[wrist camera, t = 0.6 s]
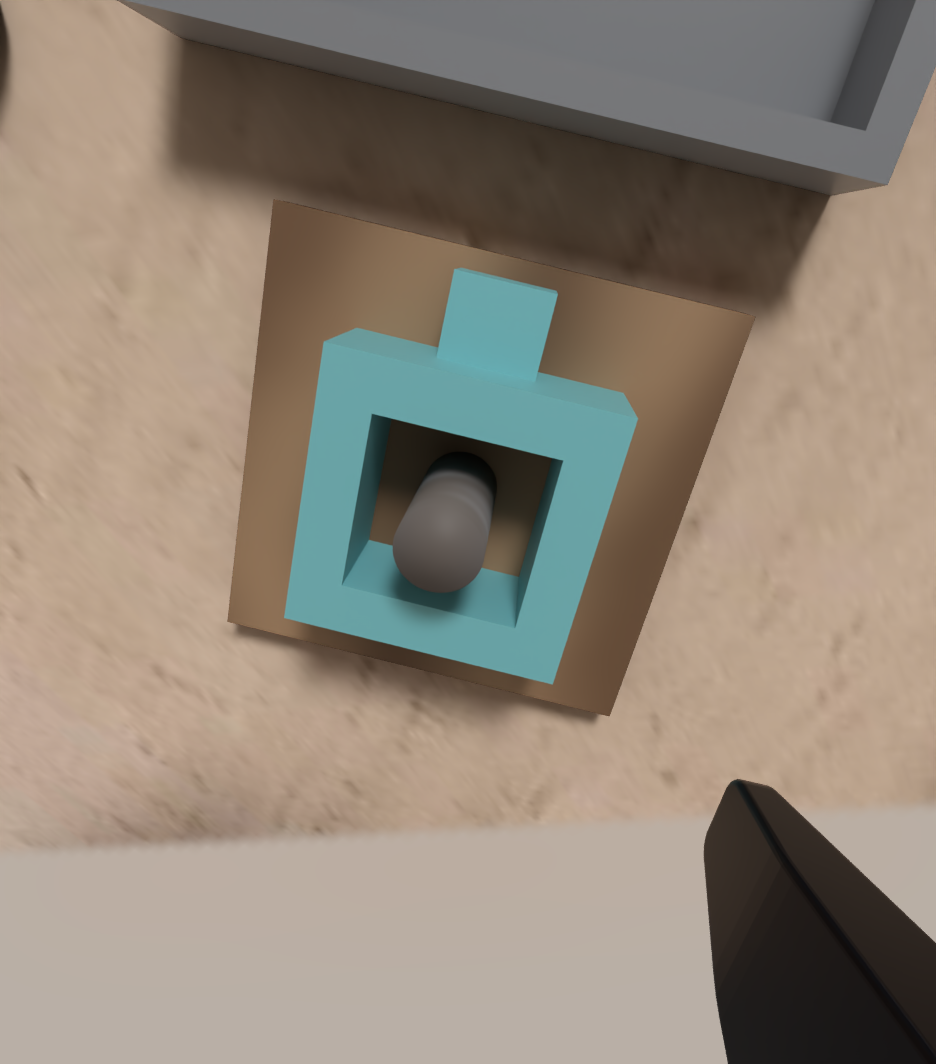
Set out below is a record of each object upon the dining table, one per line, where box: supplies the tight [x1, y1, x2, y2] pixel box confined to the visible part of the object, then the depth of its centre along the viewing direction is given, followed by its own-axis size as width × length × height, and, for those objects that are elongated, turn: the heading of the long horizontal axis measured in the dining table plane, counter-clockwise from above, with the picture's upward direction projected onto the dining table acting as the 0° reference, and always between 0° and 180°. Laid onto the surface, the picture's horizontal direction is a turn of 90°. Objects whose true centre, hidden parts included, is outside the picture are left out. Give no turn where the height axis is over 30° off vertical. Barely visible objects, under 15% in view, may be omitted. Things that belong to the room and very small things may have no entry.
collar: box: [284, 268, 638, 685], centre depth 18 cm, size 7×9×3 cm
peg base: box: [227, 199, 755, 716], centre depth 18 cm, size 12×12×6 cm
